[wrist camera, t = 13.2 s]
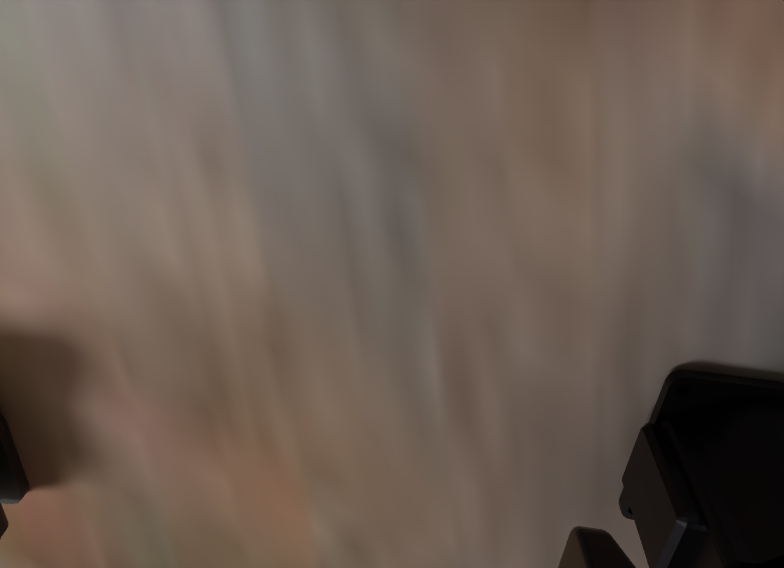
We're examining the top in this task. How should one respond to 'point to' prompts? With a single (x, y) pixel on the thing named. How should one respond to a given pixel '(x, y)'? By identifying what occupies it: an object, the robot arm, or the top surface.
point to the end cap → (9, 473)
